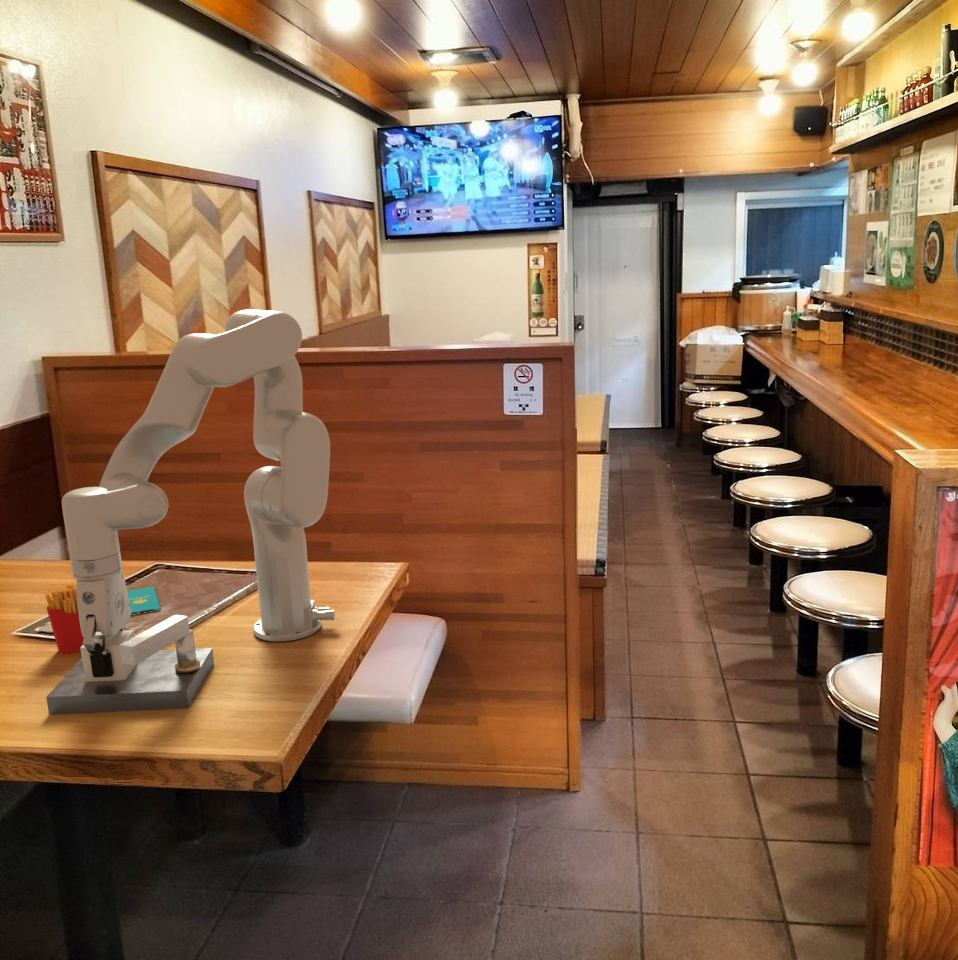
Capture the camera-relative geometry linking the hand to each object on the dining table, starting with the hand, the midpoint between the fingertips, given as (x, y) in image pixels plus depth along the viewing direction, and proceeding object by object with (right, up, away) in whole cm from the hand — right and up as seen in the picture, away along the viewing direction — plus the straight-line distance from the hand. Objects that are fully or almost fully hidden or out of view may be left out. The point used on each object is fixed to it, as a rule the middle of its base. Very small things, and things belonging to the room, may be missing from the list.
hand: (111, 665), depth 152 cm
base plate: (+4, -4, +1) cm, 5 cm away
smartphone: (-10, +5, +40) cm, 41 cm away
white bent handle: (+10, -2, -4) cm, 11 cm away
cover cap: (0, -1, 0) cm, 1 cm away
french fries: (-13, 0, +18) cm, 23 cm away
